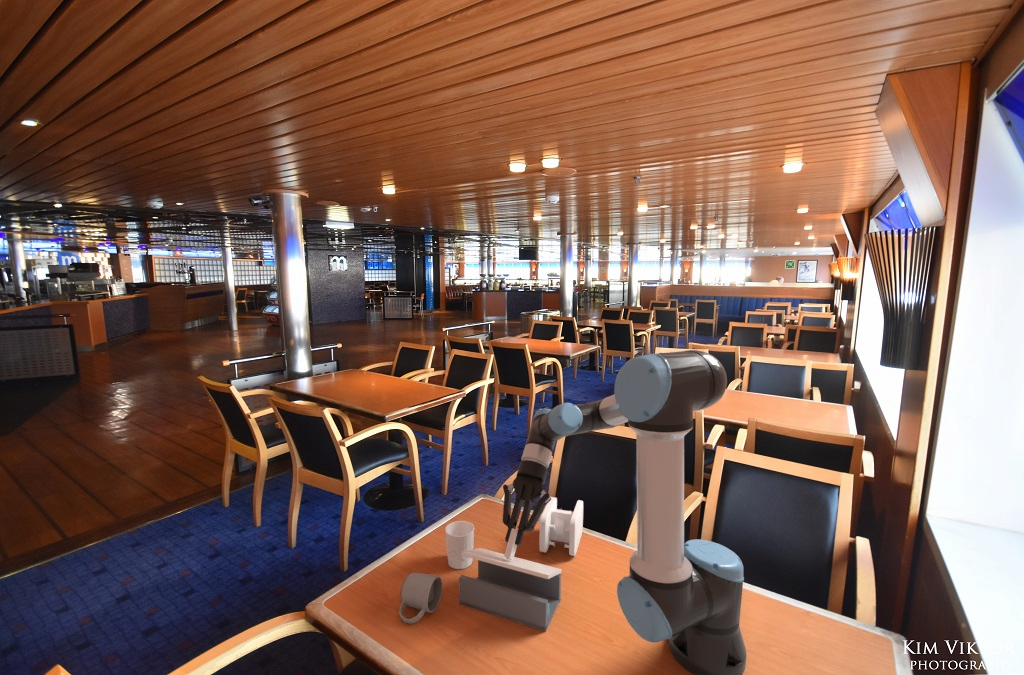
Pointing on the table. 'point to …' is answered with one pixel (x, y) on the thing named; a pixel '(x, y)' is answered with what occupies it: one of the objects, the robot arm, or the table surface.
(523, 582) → the cable duct
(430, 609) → the ceramic mug
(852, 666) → the table surface
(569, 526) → the cable organizer
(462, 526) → the white cup
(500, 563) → the panel
